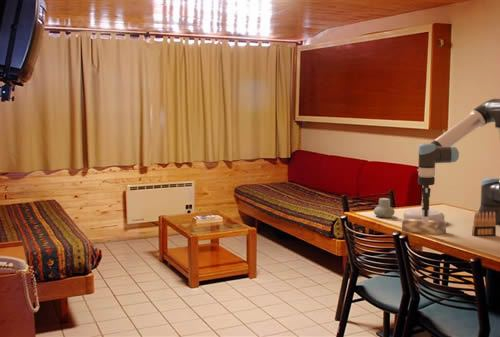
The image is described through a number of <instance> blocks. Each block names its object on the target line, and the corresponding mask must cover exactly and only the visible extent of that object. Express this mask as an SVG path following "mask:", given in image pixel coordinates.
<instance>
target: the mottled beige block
mask: <svg viewBox="0 0 500 337" xmlns="http://www.w3.org/2000/svg"><path fill="white" fill-rule="evenodd" d="M401 222H402V224H401V232H406V233H407V232H411V233H426V234H439V235H440V234H441V235H447V224H446V222H447V221H446V220H445V221H436V220H429V223H423V220H419V219H403V218H402V219H401Z"/></svg>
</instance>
